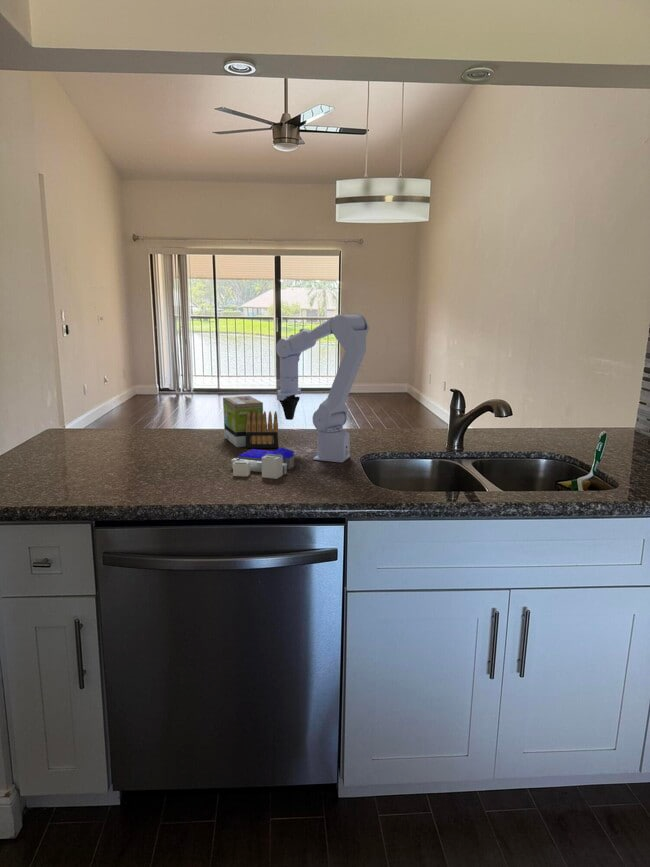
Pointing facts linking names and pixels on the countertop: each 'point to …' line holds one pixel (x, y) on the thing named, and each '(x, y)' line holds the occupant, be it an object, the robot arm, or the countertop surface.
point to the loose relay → (241, 468)
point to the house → (258, 454)
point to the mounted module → (272, 466)
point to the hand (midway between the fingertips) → (289, 419)
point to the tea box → (239, 417)
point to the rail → (257, 465)
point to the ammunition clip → (261, 431)
